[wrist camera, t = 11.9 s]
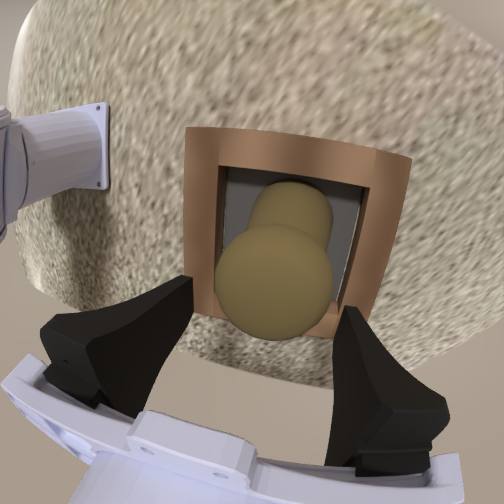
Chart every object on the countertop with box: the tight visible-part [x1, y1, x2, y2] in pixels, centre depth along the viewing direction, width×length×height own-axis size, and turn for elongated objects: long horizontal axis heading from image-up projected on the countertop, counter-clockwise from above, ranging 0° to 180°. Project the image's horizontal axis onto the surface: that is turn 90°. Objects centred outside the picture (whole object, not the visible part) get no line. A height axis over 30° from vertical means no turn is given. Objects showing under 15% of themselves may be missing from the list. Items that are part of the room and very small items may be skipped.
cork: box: [215, 178, 334, 341], centre depth 16 cm, size 6×6×11 cm
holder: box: [183, 127, 412, 339], centre depth 21 cm, size 15×15×2 cm
